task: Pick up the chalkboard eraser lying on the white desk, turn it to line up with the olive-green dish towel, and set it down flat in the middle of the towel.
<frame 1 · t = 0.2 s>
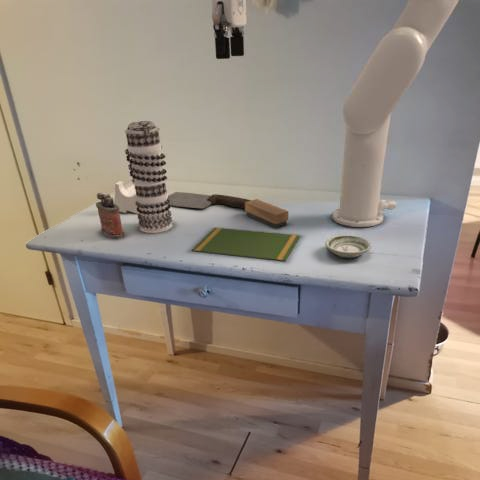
hand: (230, 57, 105), 37 cm above the table, tool pointing down, fingers open, 9 cm apart
chalkboard eraser: (266, 220, 117), on the table
bracket: (138, 206, 132), on the table
saucer: (347, 254, 98), on the table
cloth: (247, 243, 105), on the table
lighter: (113, 234, 114), on the table
decorative candle: (156, 227, 117), on the table
cleaver: (206, 205, 130), on the table
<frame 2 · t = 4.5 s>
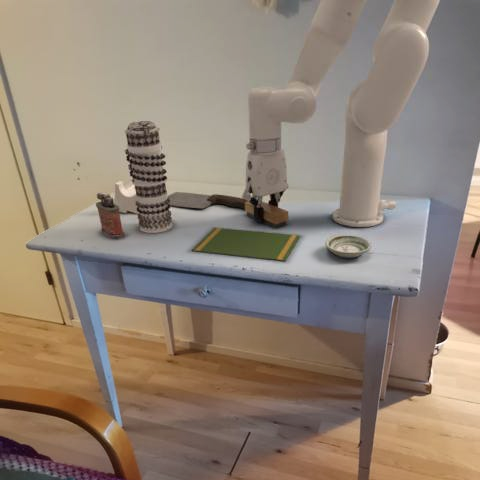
hand: (266, 218, 117), 1 cm above the table, tool pointing down, fingers closed on chalkboard eraser, 4 cm apart
chalkboard eraser: (266, 220, 117), on the table, touching gripper
everything else where it was.
when the fingers open (1 cm above the table, at t = 13.0 s): chalkboard eraser stays where it is, resting on cloth.
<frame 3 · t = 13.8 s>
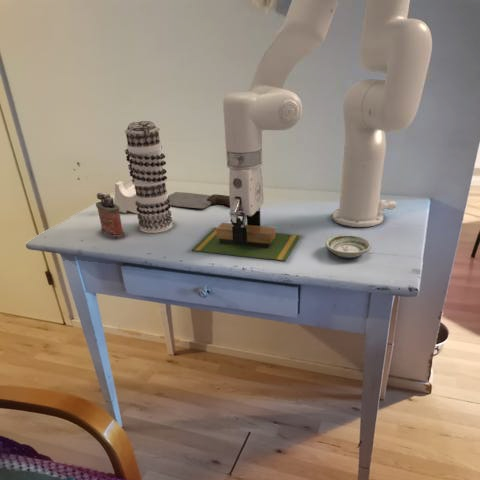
hand: (247, 234, 104), 2 cm above the table, tool pointing down, fingers open, 9 cm apart
chalkboard eraser: (246, 242, 105), resting on cloth
everything else where it was.
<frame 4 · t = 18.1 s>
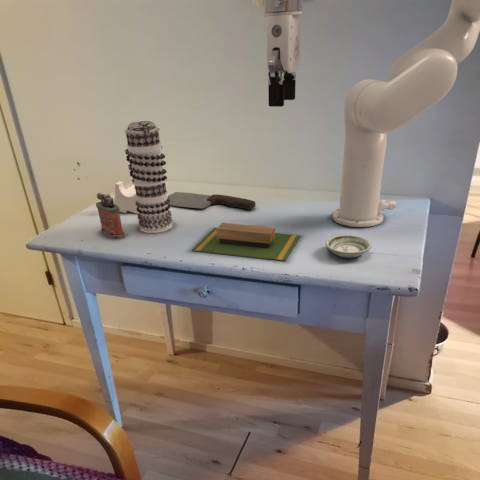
hand: (282, 102, 98), 28 cm above the table, tool pointing down, fingers open, 9 cm apart
nothing on the table moved.
at the end: chalkboard eraser touching cloth; chalkboard eraser 0.2 cm from the cloth (horizontally); chalkboard eraser tilted 0° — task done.
